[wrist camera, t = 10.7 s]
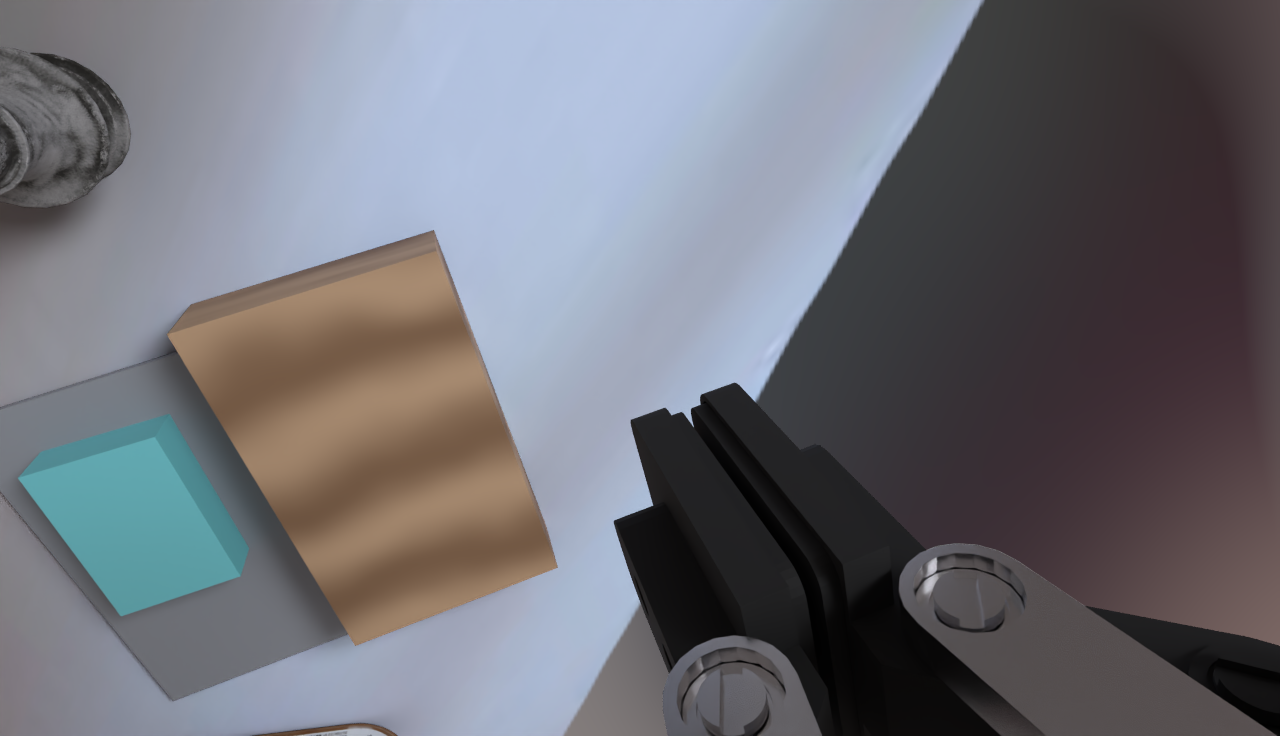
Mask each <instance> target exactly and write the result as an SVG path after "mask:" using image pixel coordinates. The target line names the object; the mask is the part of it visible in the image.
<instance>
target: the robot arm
mask: <svg viewBox="0 0 1280 736" xmlns="http://www.w3.org/2000/svg"><path fill="white" fill-rule="evenodd" d="M700 403H701V405H699V406H696V407H694V408H692V409H691V416H692V421H693V425H694V427H693V426H692V424H691V423H690V422H689V420H688V419H687V418H686V416H685V415H684V414H683V413H682V412H680V413H677V414H674V415H672V416H671V414H670V413H669V411H668V410H667V409H666V408H663V409H660V410H657V411H654V412H652V413H649V414H646V415H643V416H640V417H638V418H635V419H632V420H631V427H632V431H633V435H634V438H635V442H636V445H637V449H638V453H639V456H640V460H641V463H642V467H643V470H644V474H645V477H646V481H647V485H648V488H649V492H650V495H651V499H652V502H653V506H651V507H649V508H646V509H643V510H641V511H638V512H635V513H633V514H630V515H628V516H625V517H622V518H620V519H617V520H614V525H615V529H616V532H617V535H618V538H619V542H620V545H621V548H622V551H623V554H624V557H625V560H626V563H627V566H628V569H629V572H630V575H631V578H632V581H633V584H634V586H635V589H636V592H637V595H638V597H639V600H640V602H641V605H642V607H643V610H644V613H645V615H646V618H647V620H648V623H649V625H650V628H651V630H652V633H653V635H654V637H655V640H656V642H657V645H658V647H659V650H660V652H661V654H662V657H663V660H664V662H665V664H666V667H667V669H668V672H669V675H668V678H667V681H666V684H665V687H664V690H663V714H664V719H665V724H666V729H667V734H668V736H1280V646H1278V645H1275V644H1271V643H1267V642H1264V641H1260V640H1257V639H1253V638H1250V637H1245V636H1240V635H1235V634H1230V633H1224V632H1219V631H1214V630H1209V629H1203V628H1198V627H1193V626H1188V625H1182V624H1177V623H1171V622H1167V621H1161V620H1156V619H1151V618H1146V617H1140V616H1135V615H1130V614H1124V613H1120V612H1114V611H1109V610H1103V609H1099V608H1093V607H1088V606H1084V605H1082V604H1081V603H1079V602H1078V601H1076V600H1075V599H1073V598H1072V597H1070V596H1069V595H1067V594H1066V593H1064V592H1063V591H1062V590H1060V589H1059V588H1057V587H1055V586H1054V585H1053V584H1051V583H1050V582H1048V581H1046V580H1045V579H1044V578H1042V577H1041V576H1039V575H1038V574H1036V573H1035V572H1033V571H1032V570H1030V569H1029V568H1027V567H1026V566H1024V565H1023V564H1021V563H1020V562H1018V561H1017V560H1015V559H1013V558H1011V557H1009V556H1007V555H1005V554H1004V553H1001V552H1000V551H998V550H994V549H990V548H987V547H983V546H979V545H971V544H970V545H969V544H949V545H942V546H936V547H934V548H931V549H928V550H926V549H925V548H924V547H923V546H922V545H921V544H920V543H919V542H918V541H917V540H916V539H915V538H914V537H912V535H911V534H910V533H909V532H908V531H907V530H906V529H905V528H904V527H903V526H902V525H901V524H900V523H899V522H897V520H896V519H895V518H894V517H893V516H891V514H890V513H889V512H888V511H887V510H886V509H885V508H884V507H883V506H881V504H880V503H879V502H877V500H875V498H874V497H873V496H871V494H870V493H868V491H867V490H866V489H865V488H863V486H862V485H861V484H860V483H859V482H858V481H857V480H856V479H855V478H854V477H853V476H852V475H851V474H850V473H849V472H847V470H846V469H845V468H843V466H842V465H841V464H840V463H839V462H838V461H837V460H836V459H835V458H834V457H833V456H832V455H831V454H830V453H829V452H828V451H827V450H825V449H824V448H823V447H821V446H820V445H816V444H815V445H812V446H809V447H806V448H804V449H801V450H799V448H798V447H797V446H796V445H795V444H794V443H793V442H792V441H791V440H790V439H789V438H788V437H787V436H786V435H785V434H784V433H783V431H782V430H781V429H780V428H779V427H778V426H777V425H776V424H775V423H774V422H773V421H772V420H771V419H770V418H769V417H768V415H767V414H766V413H765V412H764V411H763V410H762V409H761V408H760V407H759V406H758V405H757V404H756V403H755V402H754V400H753V399H752V398H751V397H750V396H749V395H748V394H747V393H746V392H745V391H744V390H743V389H742V388H741V387H740V386H739V385H738V384H737V383H732V384H729V385H727V386H724V387H721V388H718V389H715V390H713V391H710V392H707V393H704V394H702V395H701V397H700Z"/></svg>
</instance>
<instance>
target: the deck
mask: <svg viewBox="0 0 1280 736" xmlns="http://www.w3.org/2000/svg"><path fill="white" fill-rule="evenodd" d="M167 335H168V337H169V339H170V340H171V342H172V344H173V345H174V347H175V349H176V350H177V352H178V354H179V355H180V357H181V359H182V360H183V362H184V364H185V365H186V367H187V369H188V370H189V372H190V373H191V375H192V377H193V378H194V380H195V382H196V383H197V385H198V387H199V388H200V390H201V392H202V393H203V395H204V397H205V398H206V400H207V402H208V403H209V405H210V407H211V408H212V410H213V411H214V413H215V415H216V416H217V418H218V420H219V421H220V423H221V425H222V426H223V428H224V430H225V431H226V433H227V435H228V436H229V438H230V440H231V441H232V443H233V445H234V446H235V448H236V449H237V451H238V453H239V454H240V456H241V458H242V459H243V461H244V463H245V464H246V466H247V468H248V469H249V471H250V473H251V474H252V476H253V478H254V479H255V481H256V483H257V484H258V486H259V487H260V489H261V491H262V492H263V494H264V496H265V497H266V499H267V501H268V502H269V504H270V506H271V507H272V509H273V511H274V512H275V514H276V516H277V517H278V519H279V521H280V522H281V524H282V525H283V527H284V529H285V530H286V532H287V534H288V535H289V537H290V539H291V540H292V542H293V544H294V545H295V547H296V549H297V550H298V552H299V554H300V555H301V557H302V559H303V560H304V562H305V563H306V565H307V567H308V568H309V570H310V572H311V573H312V575H313V577H314V578H315V580H316V582H317V583H318V585H319V587H320V588H321V590H322V592H323V593H324V595H325V597H326V598H327V600H328V601H329V603H330V605H331V606H332V608H333V610H334V611H335V613H336V615H337V616H338V618H339V620H340V621H341V623H342V625H343V626H344V628H345V630H346V631H347V633H348V635H349V636H350V638H351V639H352V641H353V643H354V644H355V646H356V645H359V644H361V643H364V642H366V641H369V640H372V639H374V638H377V637H379V636H382V635H385V634H387V633H390V632H392V631H395V630H397V629H400V628H403V627H405V626H408V625H410V624H413V623H416V622H418V621H421V620H423V619H426V618H429V617H431V616H434V615H436V614H439V613H441V612H444V611H447V610H449V609H452V608H454V607H457V606H460V605H462V604H465V603H467V602H470V601H473V600H475V599H478V598H480V597H483V596H485V595H488V594H491V593H493V592H496V591H498V590H501V589H504V588H506V587H509V586H511V585H514V584H516V583H519V582H522V581H524V580H527V579H529V578H532V577H535V576H537V575H540V574H542V573H545V572H548V571H550V570H553V569H555V568H558V567H557V563H556V559H555V556H554V552H553V549H552V545H551V542H550V538H549V534H548V531H547V527H546V525H545V522H544V519H543V517H542V514H541V511H540V509H539V506H538V503H537V501H536V498H535V496H534V493H533V490H532V488H531V485H530V482H529V480H528V477H527V475H526V472H525V469H524V467H523V464H522V461H521V459H520V456H519V453H518V451H517V448H516V446H515V443H514V440H513V438H512V435H511V432H510V430H509V427H508V424H507V422H506V419H505V417H504V414H503V411H502V409H501V406H500V403H499V401H498V398H497V396H496V393H495V390H494V388H493V385H492V382H491V380H490V377H489V374H488V372H487V369H486V367H485V364H484V361H483V359H482V356H481V353H480V351H479V348H478V345H477V343H476V340H475V338H474V335H473V332H472V330H471V327H470V324H469V322H468V319H467V317H466V314H465V311H464V309H463V306H462V303H461V301H460V298H459V295H458V293H457V290H456V288H455V285H454V282H453V280H452V277H451V274H450V272H449V269H448V266H447V264H446V261H445V259H444V256H443V253H442V251H441V248H440V245H439V243H438V240H437V238H436V235H435V232H434V230H433V231H430V232H426V233H423V234H420V235H417V236H413V237H410V238H407V239H404V240H400V241H397V242H394V243H391V244H387V245H384V246H381V247H377V248H374V249H371V250H368V251H364V252H361V253H358V254H355V255H351V256H348V257H345V258H342V259H338V260H335V261H332V262H328V263H325V264H322V265H319V266H315V267H312V268H309V269H306V270H302V271H299V272H296V273H292V274H289V275H286V276H283V277H279V278H276V279H273V280H270V281H266V282H263V283H260V284H257V285H253V286H250V287H247V288H243V289H240V290H237V291H234V292H230V293H227V294H224V295H221V296H217V297H214V298H211V299H208V300H204V301H201V302H198V303H194V304H191V305H190V307H189V308H188V309H187V310H186V311H185V313H184V314H183V315H182V316H181V318H180V319H179V320H178V321H177V323H176V324H175V325H174V326H173V328H172V329H171V330H170V331H169V333H168V334H167Z"/></svg>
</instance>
